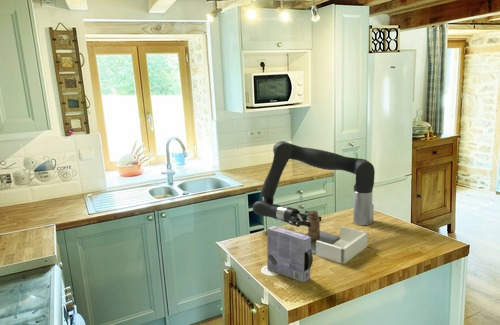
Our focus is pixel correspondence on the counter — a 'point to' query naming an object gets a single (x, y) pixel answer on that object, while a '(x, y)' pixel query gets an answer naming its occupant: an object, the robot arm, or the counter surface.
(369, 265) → the counter surface
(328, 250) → the cubby
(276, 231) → the cake pan box
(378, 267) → the counter surface
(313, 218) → the pepper mill
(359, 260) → the counter surface
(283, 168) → the robot arm
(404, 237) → the counter surface
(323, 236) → the serving board
